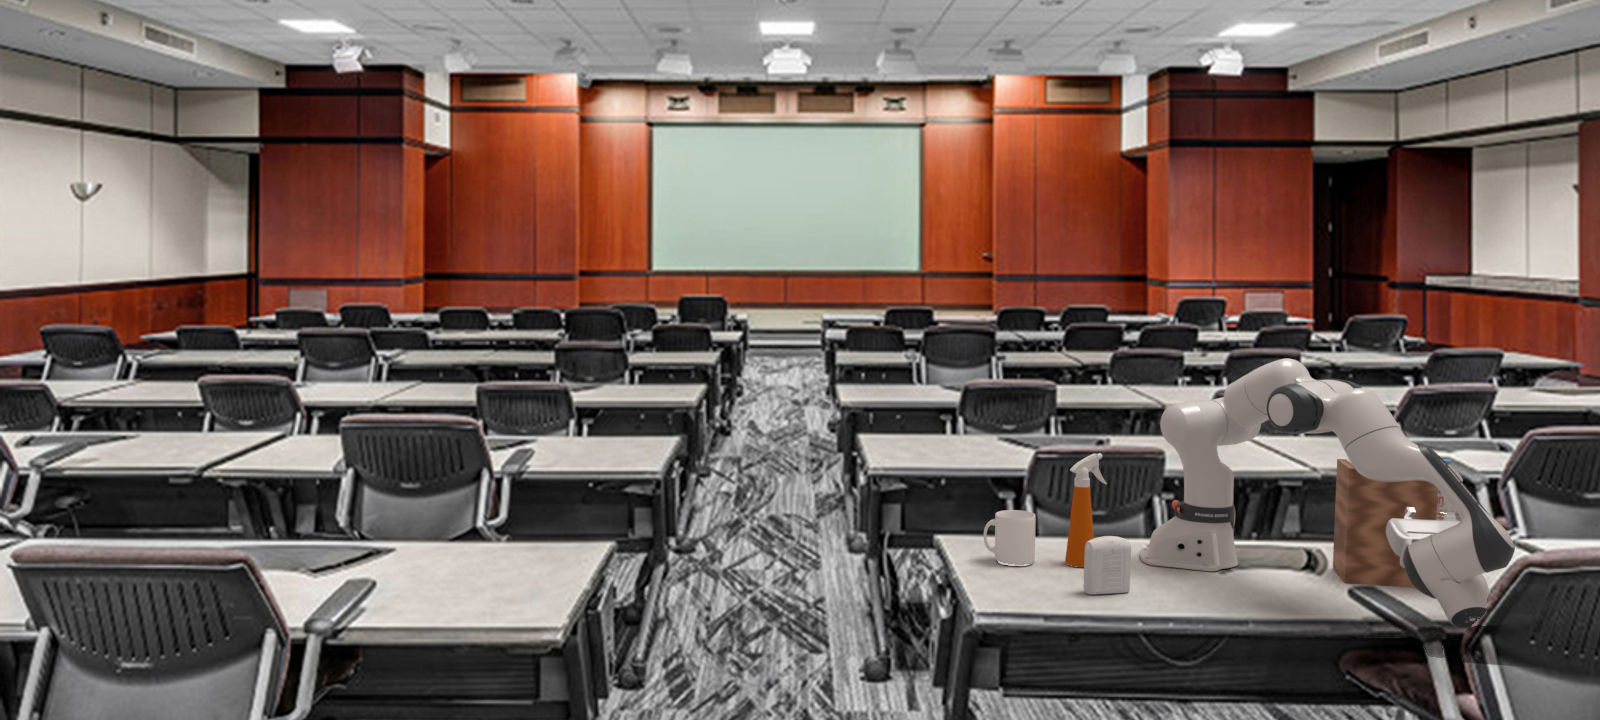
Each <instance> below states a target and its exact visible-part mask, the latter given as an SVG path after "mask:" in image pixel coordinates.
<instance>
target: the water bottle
mask: <svg viewBox="0 0 1600 720" xmlns="http://www.w3.org/2000/svg"><path fill="white" fill-rule="evenodd" d="M1443 460H1444V461H1445V463H1446V464H1447V465H1448V466H1449V467H1450V468H1451V469H1452V470H1453V472H1454V473H1455V474H1456V475H1457V476H1458V477H1459V479H1460V480H1461V481H1462V482H1463V481H1464V479H1463V477H1462V475H1461V474H1460V473H1459V472H1458V471H1457V469H1455V468H1453V467H1452V466H1451V465H1452V460H1451V459H1445V458H1444V459H1443ZM1463 483H1464V482H1463ZM1455 512H1456V510H1455V509H1454V508H1453V507H1452V505H1451V504H1450V503H1449V502H1448V500H1447V499H1446V498H1445V497H1444V496H1443V494H1442V493H1441V492H1440V491H1439V489H1438V498H1437V519H1436V520H1439V521H1457V519H1456V516H1455ZM1460 522H1461V521H1460Z"/></svg>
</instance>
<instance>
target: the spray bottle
mask: <svg viewBox="0 0 1600 720" xmlns="http://www.w3.org/2000/svg"><path fill="white" fill-rule="evenodd" d="M1101 459H1103V454H1102V453H1101V452H1099V453H1092V454H1090V455H1088V456H1086V457H1084V458H1083V459H1080V460H1078V462H1076V463H1075V464H1074V465H1073V466H1072V467H1071V468H1070V469H1069V471H1070V472H1072V473H1074V474H1075V477H1074V480H1073V481H1074V484H1073V492H1072V500H1071V501H1072V502H1071V509H1070V517H1069V524H1068V525H1069V526H1068V535H1067V536H1068V537H1067V542H1066V543H1067V544H1066V552H1065V561H1064V562H1065V564H1066V563H1067V564H1069V565H1072V566H1077V567H1084V557H1085V544H1086V542H1087V541H1089V540H1092V539H1094V538H1095V535H1094V534H1095V533H1094V525H1093V524H1094V523H1093V511H1092V508H1093V507H1092V497H1091V495H1092V494H1091V484H1090V482H1091V479H1090V477H1089V474H1090V473H1092V474H1093V475H1094V476H1095V477H1096V479H1097V480H1098V481H1100V482H1101V483H1102V484H1104V485H1107V484H1108V483H1107V482H1106V480H1105V479H1104V477H1103V475H1102V472H1101V471H1100V468H1099V466H1100V462H1099V460H1101ZM1067 564H1066V565H1067ZM1069 565H1068V566H1069Z"/></svg>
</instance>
